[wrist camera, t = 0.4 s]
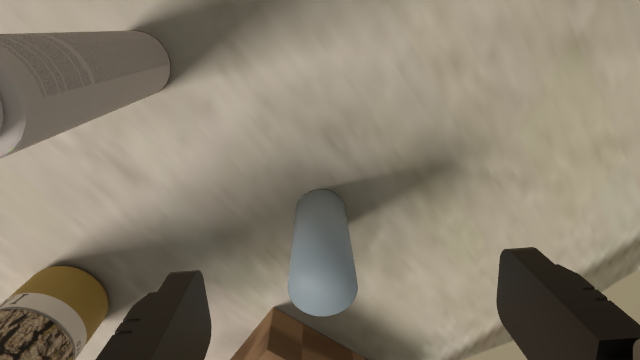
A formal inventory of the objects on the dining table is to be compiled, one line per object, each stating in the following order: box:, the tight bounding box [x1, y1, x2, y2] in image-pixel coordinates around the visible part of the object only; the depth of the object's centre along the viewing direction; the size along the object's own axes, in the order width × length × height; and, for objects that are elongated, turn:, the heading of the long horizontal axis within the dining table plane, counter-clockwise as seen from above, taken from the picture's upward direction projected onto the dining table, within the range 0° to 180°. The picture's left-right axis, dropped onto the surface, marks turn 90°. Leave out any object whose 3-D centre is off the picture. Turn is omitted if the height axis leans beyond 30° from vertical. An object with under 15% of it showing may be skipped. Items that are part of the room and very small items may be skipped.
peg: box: [288, 189, 358, 316], centre depth 28 cm, size 4×4×10 cm
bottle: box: [0, 31, 170, 158], centre depth 19 cm, size 4×4×20 cm
